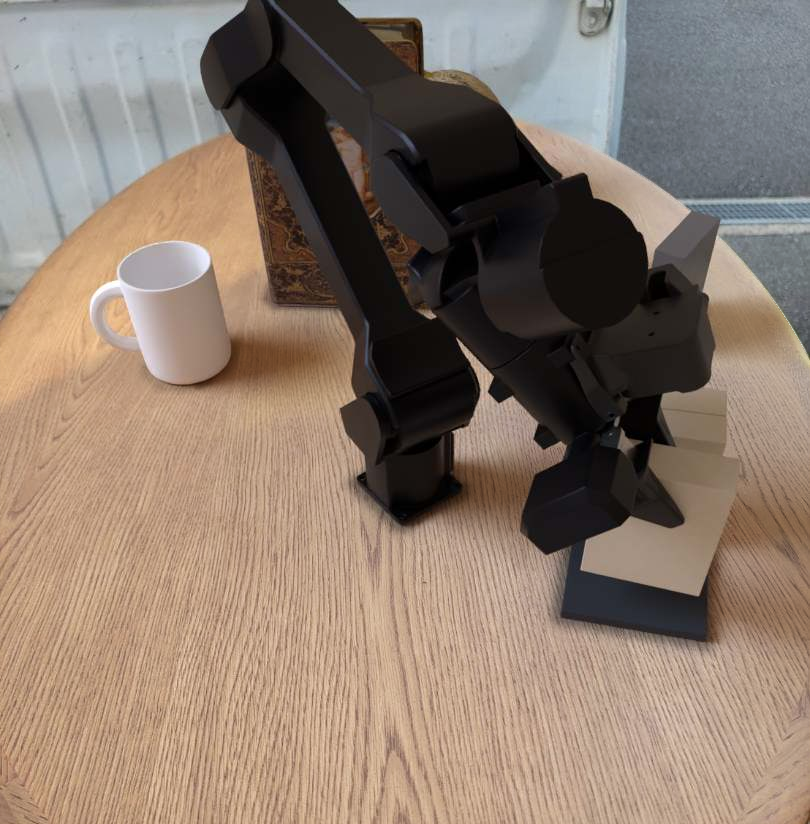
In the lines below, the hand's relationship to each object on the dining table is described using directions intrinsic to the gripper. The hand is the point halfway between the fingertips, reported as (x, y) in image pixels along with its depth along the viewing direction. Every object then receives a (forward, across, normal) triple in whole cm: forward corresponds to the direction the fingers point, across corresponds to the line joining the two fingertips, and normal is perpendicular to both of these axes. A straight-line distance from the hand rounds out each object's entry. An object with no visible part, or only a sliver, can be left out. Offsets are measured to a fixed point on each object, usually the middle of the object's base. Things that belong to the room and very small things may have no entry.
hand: (681, 506), depth 55 cm
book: (-17, +32, +33) cm, 49 cm away
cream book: (+4, 0, +6) cm, 7 cm away
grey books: (0, +37, +15) cm, 40 cm away
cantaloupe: (-14, +52, +30) cm, 62 cm away
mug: (-26, +16, +42) cm, 52 cm away
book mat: (+6, +5, +9) cm, 12 cm away
